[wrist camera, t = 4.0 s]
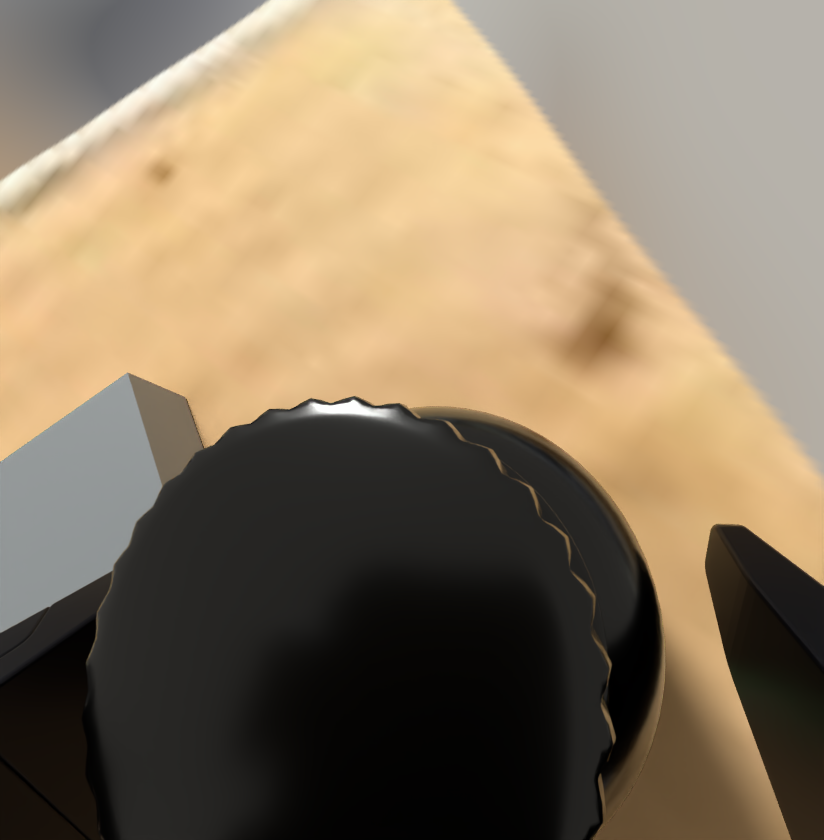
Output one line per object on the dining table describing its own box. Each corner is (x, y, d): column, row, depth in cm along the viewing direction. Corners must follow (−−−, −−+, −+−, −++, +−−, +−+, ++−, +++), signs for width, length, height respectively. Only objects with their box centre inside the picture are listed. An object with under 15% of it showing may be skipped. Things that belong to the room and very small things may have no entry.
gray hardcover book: (332, 810, 14) (279, 871, 12) (-133, 1063, 16) (-271, 1164, 14) (185, 397, 21) (127, 372, 18) (-140, 619, 23) (-237, 627, 20)
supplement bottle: (651, 665, 13) (1153, 1246, 2) (429, 735, 14) (-10, 1355, 3) (547, 446, 16) (523, 179, 4) (365, 521, 17) (-11, 454, 6)
